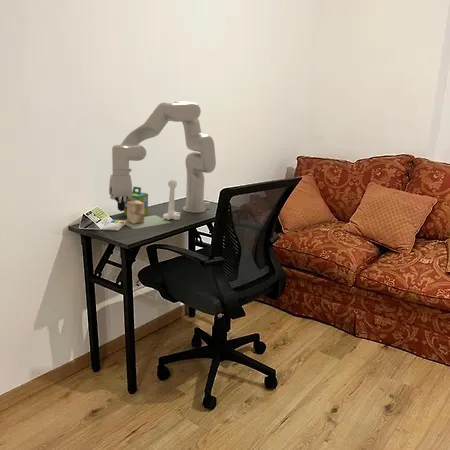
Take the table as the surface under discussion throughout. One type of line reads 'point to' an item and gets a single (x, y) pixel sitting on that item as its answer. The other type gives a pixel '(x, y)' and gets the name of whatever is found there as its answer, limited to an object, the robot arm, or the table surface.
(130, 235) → the table surface
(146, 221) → the mat
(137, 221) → the maple block
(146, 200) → the chalk box
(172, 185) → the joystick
